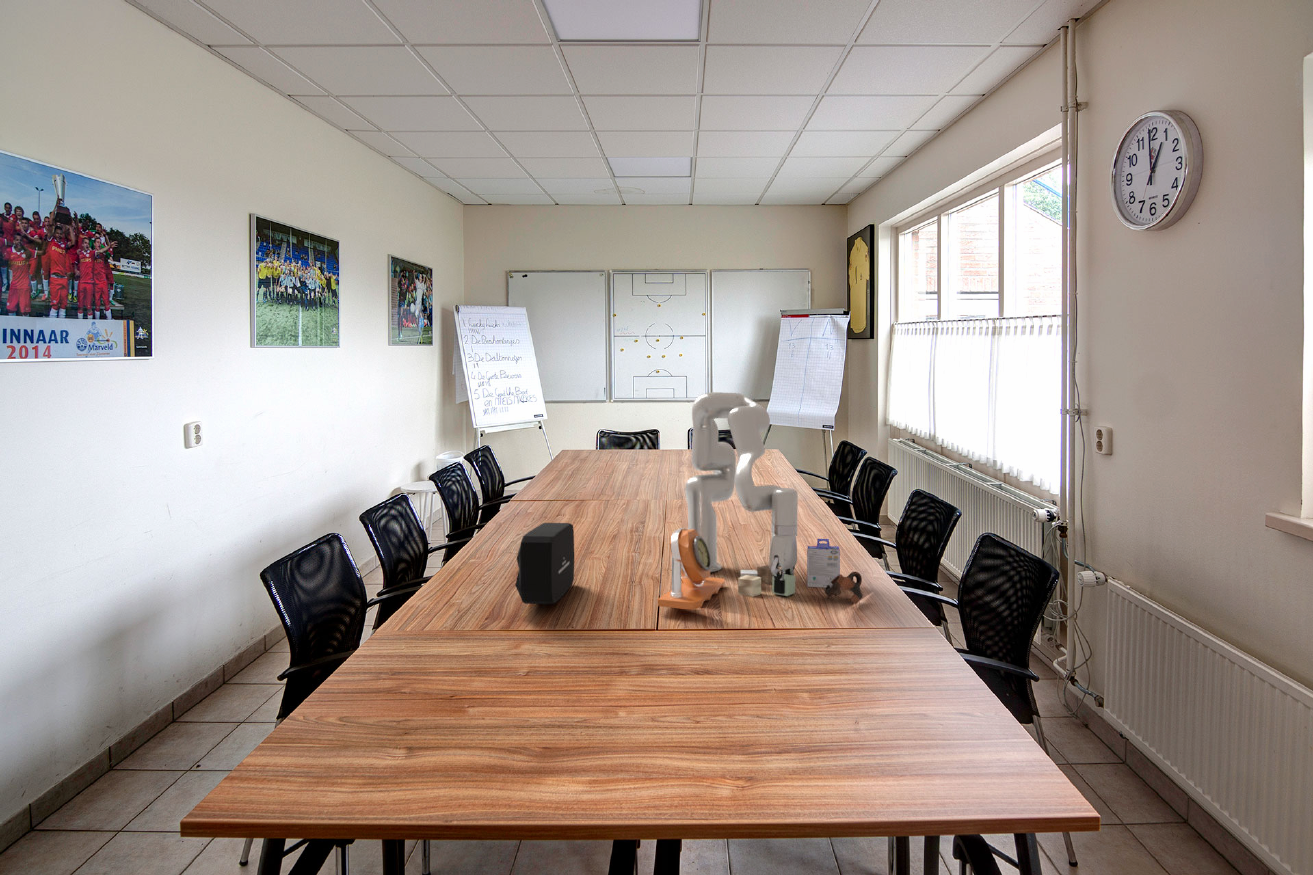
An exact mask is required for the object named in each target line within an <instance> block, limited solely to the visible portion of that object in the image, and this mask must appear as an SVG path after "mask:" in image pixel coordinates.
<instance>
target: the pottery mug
mask: <svg viewBox="0 0 1313 875" xmlns="http://www.w3.org/2000/svg"><path fill="white" fill-rule="evenodd" d="M854 578H855V579H856V581H854ZM862 580H863V578H862V576H861V573H859V572H858V571H852V572H850V573H849V574H848V575H847V576H843V575H842V574H841V573H840V575H838V576H837V577H835V578H834V579H833V580H832V581H831V583H832V584H833V585H832V586H831V587H830V586H829V585H827V587H824V590H823V592H824V594H826V599H828V600H829V599H830V600H831V601H833V600H834V598H833V596H834V597H838V596H840V595H842V591H841V587H842V588H843V589H844V590H846V591H850V592H852V594H853V595H852V596H851V598H850V601H851V602H852V603H853V604H854V605H855V606H856V605H857V604H858V603H859V602H860V601H861V599H863V596H864V594H863V593H862V591H861V585H862V582H863V581H862Z"/></svg>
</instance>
